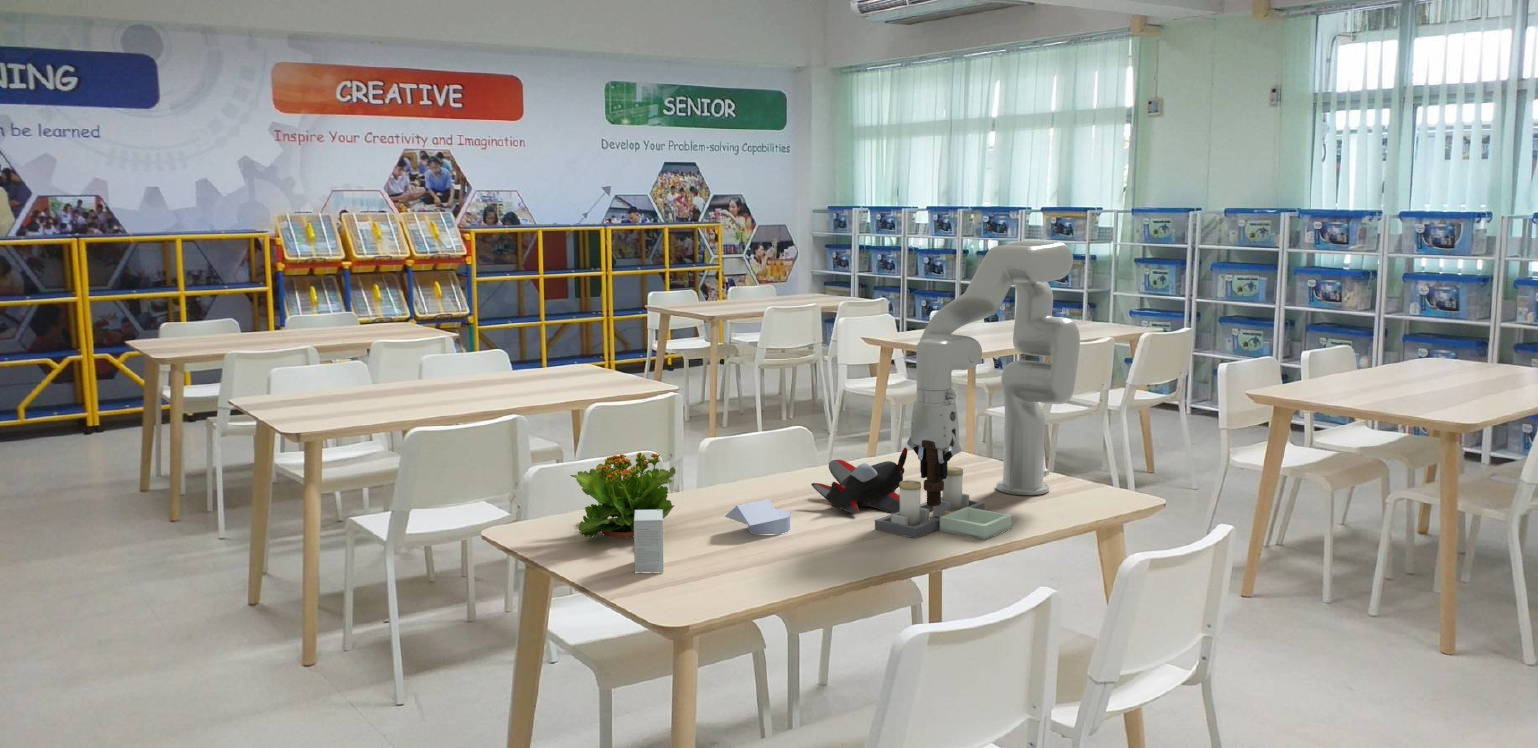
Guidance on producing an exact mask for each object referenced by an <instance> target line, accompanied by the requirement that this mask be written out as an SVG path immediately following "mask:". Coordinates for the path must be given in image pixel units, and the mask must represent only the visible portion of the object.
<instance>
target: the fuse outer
mask: <svg viewBox="0 0 1538 748" xmlns="http://www.w3.org/2000/svg"><path fill="white" fill-rule="evenodd" d="M898 488H899V495H900V510H899V516H904V517H907V526H912V527H914V526H917V525H920V504H921V489H922V483H921V481H918V480H910V479H907V480H903V481H901V482H899V487H898Z"/></svg>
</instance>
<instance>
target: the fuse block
mask: <svg viewBox="0 0 1538 748" xmlns="http://www.w3.org/2000/svg"><path fill="white" fill-rule="evenodd" d="M950 504H951V502H950V501H945V500H942V496H941V504H940V505H939V506H928V505H927V501H925V502H923V503H920V525H917V526H914V527H912V526H907V517H904V516H899V512H897V513H890V514H888V515H886V516H883V517H880V518H876V519H875V520H874V530H875V531H882V532H886V533H890V534H894V535H898V536H899V535H900V536H903V537H908V538H913V539H917V538H920V537H922V536H925V535H927V534H929V533H933V532H935V531H937V530H940V517H941V516H944V515H947V514H949V513H952V512H950ZM965 507H970V508H976V509H981V510H986V508H985V507H986V505H985V502H983V501H977V500H972V499H970V494H967V493H962V509H963V508H965ZM931 512H932V516H935V517H936V518H933V519H930V513H931ZM954 512H955V511H954Z"/></svg>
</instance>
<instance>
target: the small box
mask: <svg viewBox="0 0 1538 748" xmlns="http://www.w3.org/2000/svg"><path fill="white" fill-rule="evenodd" d="M633 550H634V551H633V553H634V555H633V556H634V573H635V572H663V573H664V519H663V510H635V511H634V537H633Z"/></svg>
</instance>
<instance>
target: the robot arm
mask: <svg viewBox="0 0 1538 748" xmlns="http://www.w3.org/2000/svg"><path fill="white" fill-rule="evenodd" d="M1073 263H1074V255H1073V252H1072V250H1071V248H1070V247H1069V246H1068V245H1067V244H1065V243H1063V242H1057V241H1056V242H1054V241H1034V240H1033V241H1030V240H1029V241H1027V240H1024V241H1021V240H1020V241H1013V242H1009V243H1007V244H1006V245H1004V244H1003V245H996V246H994V247H991V248H990V249H988V251H986V253H985V254H984V257H983V258H982V261H981V262H980V264H979V265H978V268H976V269H977V270H976V271H975V274H974V275H973V277H972V278H971V281H970V282H969V284H968V286H967V288H966V290H965V291H964V293H963V294H961V295H960V296H958V297H956V298H954V299H953V300H952V301H950V302H949V303H947V304H946V305H945V306H943V307H941V308H940V309H939V310H938V311H937V312H936V313H935V314H934V315H933V316H932V317H931V318H930V320H929V322H928V323H927V325H926V327H925V329H924V331H923V333H922V335H921V337H920V340H919V341H918V342H917V344H916V400H914V402H913V406H912V411H911V421H910V436H909V439H908V440H907V442H906V444H907V446H908V447H909V448H910V449H912V450H913V452H914V453H915V455H916V456H917V459H918V460H919V461H920V462H919V463H920V464H919V465H920V466H919V467H920V468H919V469H920V477H921V479H926V478H927V476H926V475H927V473H926V472H927V453H926V447H922V441H923V440H928V441H933V442H935V447H936V448H934V449H937V450H938V460H939V463H937V464H936V480H937V481H941V480H944V479H946V478H947V467H948V462H949V461H950V460H951V459H952V458H953V457H954V456H956V455H958V454H960V453H961V452H962V448H961V445H960V430H959V417H958V411H957V406H956V403H955V402H952V401H953V400H956V397H957V394H956V393H955V392H953V389H952V372H953V371H967V370H971V369H973V368H975V367H976V366H977V365H978V364H979V363H980V361H981V359H982V355H983V349H982V345H981V344H980V342H979V341H978V340H977V339H976V338H974V337H972V336H967V335H961V334H960V335H959V334H953V333H954V332H955V331H956V330H958V329H960V328H961V327H964V326H966V325H969V324H972V323H975V322H978V321H982V320H984V319H987V318H990V317H991V316H993V315H995V314H997V312H998V311H999V310H1000V308H1001V306H1002V303H1003V302H1004V300H1005V298H1006V297H1007V295H1008V292H1009V290H1010V289H1011V288H1012V285H1014V287H1015V292H1016V308H1015V318H1014V324H1013V325H1014V326H1013V335H1012V343H1013V348H1014V349H1015V351H1016V352H1018V353H1020V354H1023V355H1026V356H1027V355H1028V356H1037V357H1045V358H1050V362H1042V361H1036V360H1026V359H1024V360H1022V359H1020V360H1014V361H1011V362H1009V363H1008V364H1006V365H1005V367H1004V368H1003V369H1002V373H1001V380H1000V381H1001V383H1000V384H1001V390H1002V394H1003V401H1004V402H1003V403H1004V428H1003V430H1004V432H1003V438H1004V439H1003V464H1002V465H1003V469H1002V473H1003V474H1002V480H1000V481H998V482H997V483H996V484H995V485H996V486H995V487H996V489H997V490H998V491H999V492H1002V493H1005V494H1008V495H1018V496H1039V495H1043V494H1047V493H1048V492H1049V491H1050V485H1049V484H1048V483H1045V482H1044V477H1045V478H1046V477H1047V476H1049V475H1050V471H1049V469H1048V468H1046V467H1045V468H1044V463H1045V462H1044V460H1045V458H1044V457H1045V456H1044V455H1045V430H1046V429H1045V428H1046V421H1045V420H1046V419H1045V415H1044V412H1043V409H1042V407H1041V405H1040V403H1044V404H1051V405H1064V404H1066V403H1067V402H1069V401H1070V400H1071V398H1072V397H1073V394H1074V391H1075V388H1076V387H1075V386H1076V382H1077V380H1076V379H1077V373H1078V363H1079V355H1080V346H1081V335H1080V330H1079V327H1078V326H1077V324H1076V322H1075V321H1073V320H1072V319H1069V318H1065V317H1056V316H1053V307H1054V294H1053V290H1052V288H1051V286H1050V284H1049V282H1053V281H1059V280H1062V279H1063V278H1065V277H1066V276H1068V275H1069V273H1070V272H1071V270H1072V268H1073ZM950 447H951V449H950Z"/></svg>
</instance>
